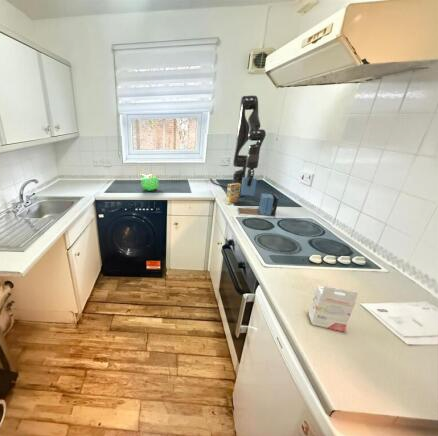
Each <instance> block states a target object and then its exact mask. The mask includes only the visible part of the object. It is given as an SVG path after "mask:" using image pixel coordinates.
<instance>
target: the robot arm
mask: <svg viewBox="0 0 438 436" xmlns="http://www.w3.org/2000/svg"><path fill="white" fill-rule="evenodd" d="M239 103H240V104H239V116H238V117H239V118H238V125H237V133H236V142H235V150H234V156H233V161H232V165H233V167H235V168H239V169H238V170H234V171H233V175H232V176H233V177H232V183H231V184H233V183H239V184H241V186H242V179H243V178H248V184H247V186H251V181H252V180H253V178H254V176H255V170H254V169H258V167H259V162H260V153H261V147H262V145H263V143H264V140H265V138H266V134H267V133H266V130H265V129H263V128H261V126H262V125H261V121H260V116H259V115H260V113H259V98H258V96H257V95H243V96H241V99H240V102H239ZM246 111H252V112H251V114H250V115H249V116H248V119H247V116H246ZM248 141H251V142H253V141H255V142H256V143H252V144H250V145H249V146H248V152H247V155H245V154H240V152H241V151H242V149H243V147H244V146H245V145H246V144H247V143H248ZM250 178H251V179H250ZM209 181H211V183H213V184H214V185H217V186H219V187H223V188H225V189H227V187H228V186H226V185H224V184H223V185H222V184H219V183H217V182H215V181H213V179H212V178H210V179H209ZM240 193H241V187H240ZM241 197H243V195H241V194H239V198H241Z"/></svg>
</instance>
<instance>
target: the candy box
mask: <svg viewBox="0 0 438 436" xmlns="http://www.w3.org/2000/svg"><path fill="white" fill-rule="evenodd" d="M226 187H227V188H226V197H225V204H227V205H230V204H238V203H239V200H240V197H239V194H240V187H241V184H239V183H233V184H232V183H227V186H226Z"/></svg>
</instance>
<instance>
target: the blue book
mask: <svg viewBox="0 0 438 436" xmlns="http://www.w3.org/2000/svg"><path fill="white" fill-rule="evenodd" d="M250 179H251V178H250ZM257 181H258V178H257V177H253V180H252V181H251V186H247V184H248V178H247V177H245V178H243V179H242V186H241V193H240V194H241V195H242V196H250V197H251V196H253V197H254V196H255V192H256V187H257Z"/></svg>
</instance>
